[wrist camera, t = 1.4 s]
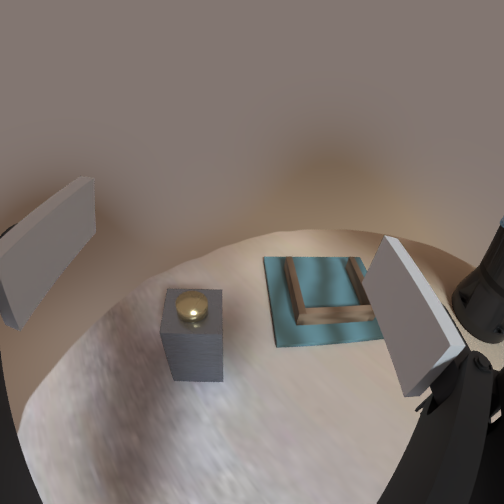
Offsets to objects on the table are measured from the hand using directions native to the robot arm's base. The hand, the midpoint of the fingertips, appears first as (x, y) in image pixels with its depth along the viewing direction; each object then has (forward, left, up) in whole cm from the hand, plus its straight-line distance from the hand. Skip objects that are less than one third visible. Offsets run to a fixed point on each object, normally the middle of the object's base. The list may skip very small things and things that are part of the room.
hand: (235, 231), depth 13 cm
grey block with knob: (-2, -10, -26) cm, 28 cm away
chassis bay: (-24, -10, -26) cm, 37 cm away
